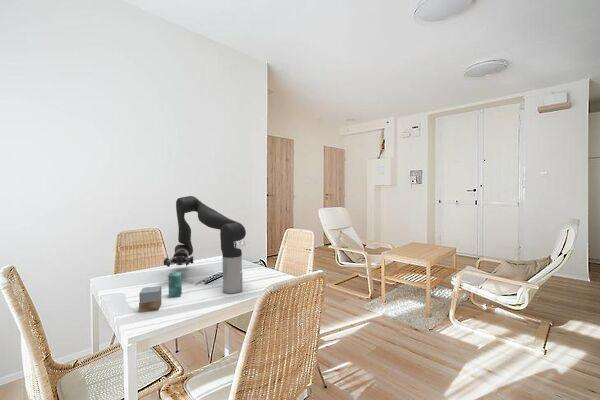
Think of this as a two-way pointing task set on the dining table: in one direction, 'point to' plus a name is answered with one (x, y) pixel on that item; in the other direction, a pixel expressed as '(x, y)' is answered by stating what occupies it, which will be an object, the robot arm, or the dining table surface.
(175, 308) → the dining table surface
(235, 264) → the robot arm
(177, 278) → the teal pillar
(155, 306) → the walnut slab
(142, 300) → the grey slab
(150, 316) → the dining table surface
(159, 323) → the dining table surface
